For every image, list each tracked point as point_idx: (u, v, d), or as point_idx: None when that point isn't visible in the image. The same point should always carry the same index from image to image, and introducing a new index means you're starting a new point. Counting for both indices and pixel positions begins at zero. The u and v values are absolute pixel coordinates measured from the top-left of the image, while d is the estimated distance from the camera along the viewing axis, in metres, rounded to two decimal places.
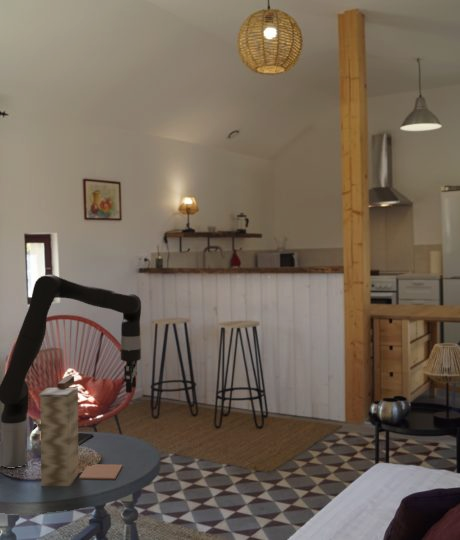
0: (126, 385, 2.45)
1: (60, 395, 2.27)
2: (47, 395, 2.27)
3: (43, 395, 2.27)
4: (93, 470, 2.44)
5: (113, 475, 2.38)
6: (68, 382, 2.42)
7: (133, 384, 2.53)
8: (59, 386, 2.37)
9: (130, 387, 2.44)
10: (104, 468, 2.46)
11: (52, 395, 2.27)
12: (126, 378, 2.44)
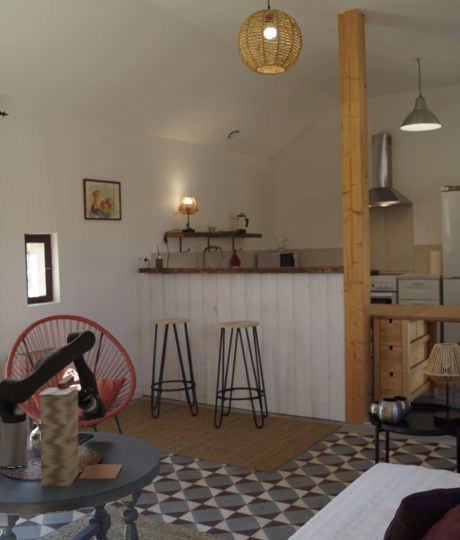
0: None
1: (60, 395, 2.27)
2: (47, 395, 2.27)
3: (43, 395, 2.27)
4: (93, 470, 2.44)
5: (113, 475, 2.38)
6: (68, 382, 2.42)
7: None
8: (59, 386, 2.37)
9: (89, 392, 2.59)
10: (104, 468, 2.46)
11: (52, 395, 2.27)
12: None
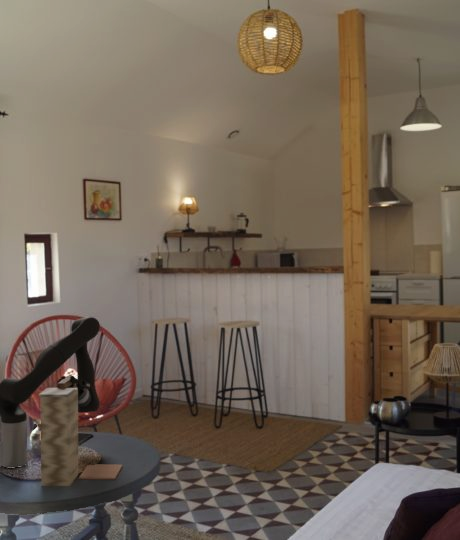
0: None
1: (60, 395, 2.27)
2: (47, 395, 2.27)
3: (43, 395, 2.27)
4: (93, 470, 2.44)
5: (113, 475, 2.38)
6: (68, 382, 2.42)
7: None
8: (59, 386, 2.37)
9: (73, 381, 2.46)
10: (104, 468, 2.46)
11: (52, 395, 2.27)
12: (77, 380, 2.49)
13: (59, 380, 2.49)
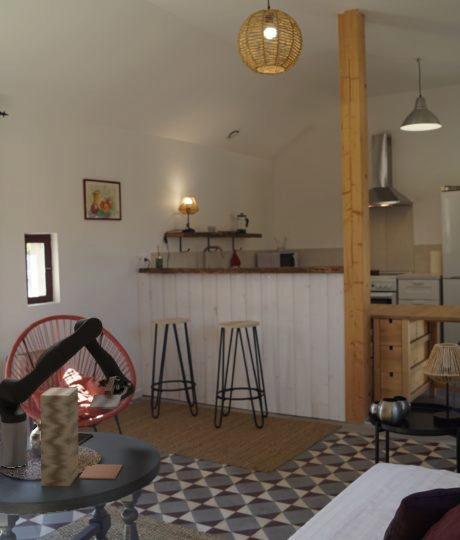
0: (116, 380, 2.57)
1: (110, 407, 2.37)
2: (98, 407, 2.37)
3: (94, 407, 2.37)
4: (93, 470, 2.44)
5: (113, 475, 2.38)
6: (113, 387, 2.52)
7: None
8: (106, 393, 2.46)
9: (117, 384, 2.56)
10: (104, 468, 2.46)
11: (103, 407, 2.37)
12: (119, 381, 2.59)
13: (102, 381, 2.58)
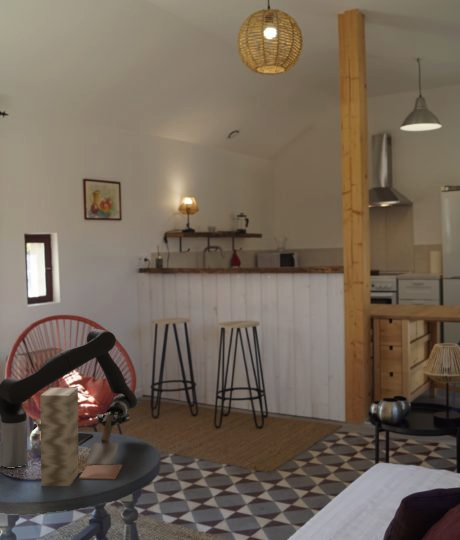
0: (114, 419, 2.58)
1: (107, 464, 2.41)
2: (95, 464, 2.41)
3: (91, 464, 2.41)
4: (93, 470, 2.44)
5: (113, 475, 2.38)
6: (110, 430, 2.53)
7: None
8: (103, 441, 2.49)
9: None
10: (104, 468, 2.46)
11: (99, 464, 2.41)
12: (117, 418, 2.60)
13: (100, 419, 2.60)
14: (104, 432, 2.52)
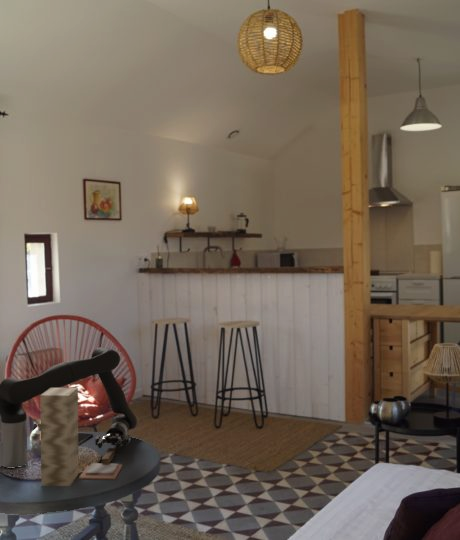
0: (119, 441, 2.58)
1: (106, 473, 2.39)
2: (93, 473, 2.39)
3: (90, 473, 2.39)
4: None
5: (113, 475, 2.38)
6: (110, 456, 2.54)
7: (101, 445, 2.57)
8: (103, 461, 2.49)
9: None
10: None
11: (98, 473, 2.39)
12: (121, 439, 2.61)
13: (95, 440, 2.61)
14: (105, 455, 2.53)
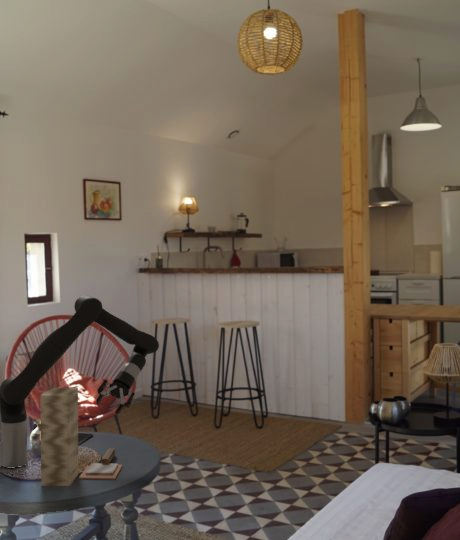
0: (120, 406, 2.58)
1: (106, 473, 2.39)
2: (93, 473, 2.39)
3: (90, 473, 2.39)
4: None
5: (113, 475, 2.38)
6: (110, 456, 2.54)
7: (99, 402, 2.60)
8: (103, 461, 2.49)
9: None
10: None
11: (98, 473, 2.39)
12: None
13: None
14: (105, 455, 2.53)
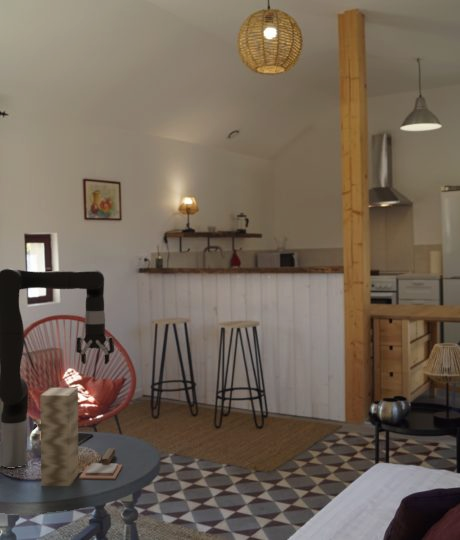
0: (106, 357, 2.54)
1: (106, 473, 2.39)
2: (93, 473, 2.39)
3: (90, 473, 2.39)
4: None
5: (113, 475, 2.38)
6: (110, 456, 2.54)
7: (85, 360, 2.55)
8: (103, 461, 2.49)
9: None
10: None
11: (98, 473, 2.39)
12: (107, 350, 2.54)
13: (77, 352, 2.55)
14: (105, 455, 2.53)
